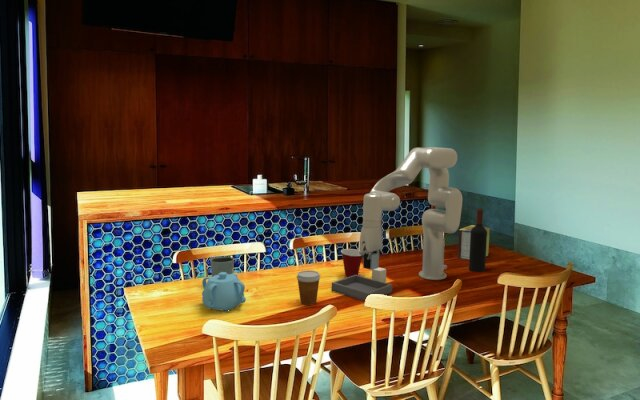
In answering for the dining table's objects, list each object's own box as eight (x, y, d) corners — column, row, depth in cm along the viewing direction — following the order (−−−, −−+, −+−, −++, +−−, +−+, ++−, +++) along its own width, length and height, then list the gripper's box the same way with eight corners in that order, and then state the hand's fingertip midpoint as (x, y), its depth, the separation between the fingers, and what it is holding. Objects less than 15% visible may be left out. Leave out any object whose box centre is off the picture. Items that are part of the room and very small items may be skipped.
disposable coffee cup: (301, 308, 205) (301, 278, 203) (293, 300, 214) (293, 271, 212) (324, 304, 209) (324, 275, 207) (314, 297, 217) (314, 269, 216)
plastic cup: (362, 280, 240) (362, 254, 238) (338, 278, 242) (339, 253, 240) (365, 273, 250) (365, 248, 248) (342, 272, 252) (342, 247, 250)
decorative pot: (201, 301, 213) (200, 268, 210) (241, 297, 217) (240, 265, 215) (203, 316, 197) (202, 281, 195) (246, 311, 201) (246, 277, 199)
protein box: (488, 255, 283) (490, 227, 280) (475, 261, 271) (477, 232, 269) (470, 252, 290) (471, 224, 287) (457, 258, 278) (458, 229, 276)
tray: (355, 282, 237) (355, 274, 236) (391, 292, 223) (392, 284, 223) (331, 290, 225) (331, 282, 225) (368, 302, 212) (368, 293, 211)
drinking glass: (206, 287, 229) (205, 260, 227) (218, 280, 238) (218, 255, 236) (227, 290, 225) (226, 263, 224) (238, 283, 235) (238, 257, 233)
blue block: (369, 265, 222) (370, 251, 221) (378, 267, 219) (378, 253, 218) (363, 267, 219) (363, 253, 218) (371, 269, 216) (372, 255, 215)
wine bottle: (467, 271, 255) (470, 209, 250) (469, 267, 262) (472, 207, 257) (484, 272, 252) (487, 211, 247) (485, 268, 259) (489, 208, 254)
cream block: (377, 279, 241) (378, 267, 240) (385, 281, 238) (386, 269, 237) (371, 281, 238) (372, 269, 237) (379, 284, 235) (380, 271, 234)
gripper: (377, 219, 225) (376, 261, 227) (351, 225, 213) (350, 269, 215) (391, 222, 220) (390, 265, 222) (366, 227, 207) (365, 272, 210)
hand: (370, 266), depth 219 cm, fingers closed on blue block, 4 cm apart
